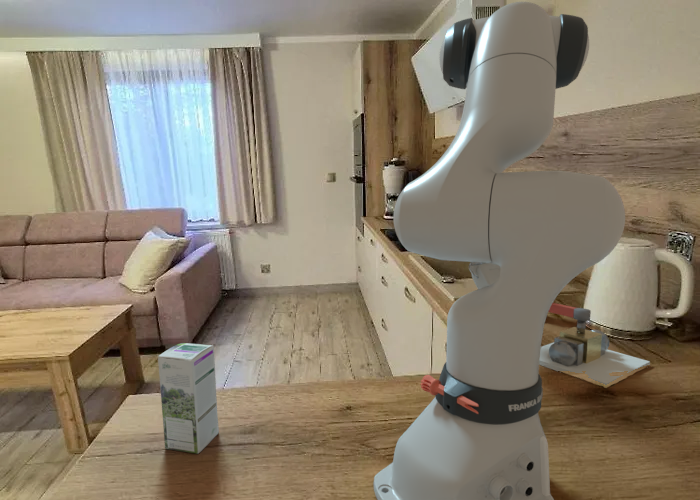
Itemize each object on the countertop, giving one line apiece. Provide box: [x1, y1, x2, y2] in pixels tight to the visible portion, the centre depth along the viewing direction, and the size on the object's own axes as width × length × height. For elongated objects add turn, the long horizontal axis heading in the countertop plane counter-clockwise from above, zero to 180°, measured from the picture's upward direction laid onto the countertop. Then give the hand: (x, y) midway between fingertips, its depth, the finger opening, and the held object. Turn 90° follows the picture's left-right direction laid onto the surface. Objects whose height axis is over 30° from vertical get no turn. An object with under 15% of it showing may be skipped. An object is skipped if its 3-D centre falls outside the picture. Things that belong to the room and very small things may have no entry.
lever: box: [548, 302, 592, 322], centre depth 91 cm, size 3×12×2 cm, turn 33°
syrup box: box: [157, 342, 220, 455], centre depth 59 cm, size 6×6×14 cm
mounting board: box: [539, 342, 651, 385], centre depth 88 cm, size 19×18×1 cm
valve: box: [549, 320, 610, 366], centre depth 88 cm, size 15×6×9 cm, turn 123°
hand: (528, 306), depth 91 cm, fingers closed
